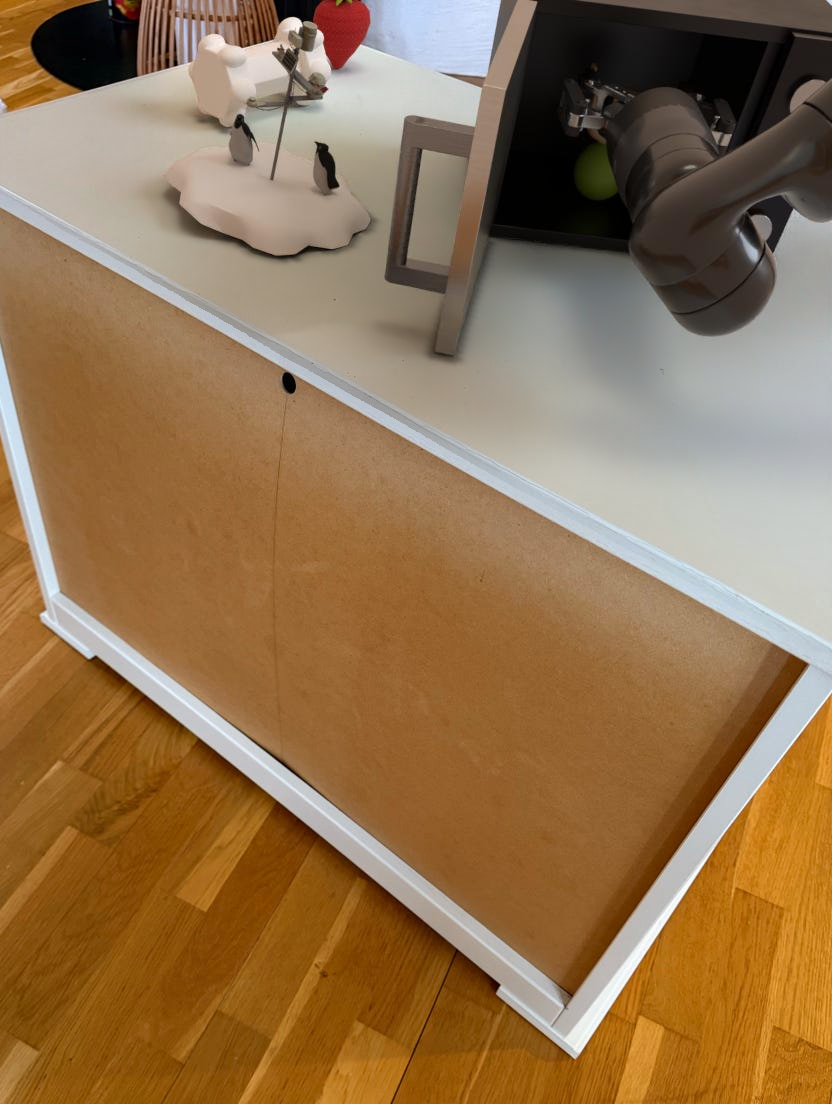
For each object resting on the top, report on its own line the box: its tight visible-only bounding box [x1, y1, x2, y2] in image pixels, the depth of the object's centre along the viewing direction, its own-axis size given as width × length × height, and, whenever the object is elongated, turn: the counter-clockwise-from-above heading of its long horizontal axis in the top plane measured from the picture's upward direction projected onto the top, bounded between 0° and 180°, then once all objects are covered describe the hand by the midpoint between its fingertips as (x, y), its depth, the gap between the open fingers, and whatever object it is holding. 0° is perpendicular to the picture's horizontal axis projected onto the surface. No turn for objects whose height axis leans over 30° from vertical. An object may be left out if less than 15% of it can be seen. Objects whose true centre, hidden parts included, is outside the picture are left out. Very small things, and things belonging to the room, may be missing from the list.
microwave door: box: [384, 0, 537, 356], centre depth 75 cm, size 7×22×20 cm, turn 167°
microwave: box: [487, 0, 832, 255], centre depth 89 cm, size 22×28×20 cm
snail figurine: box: [573, 63, 638, 200], centre depth 91 cm, size 5×6×12 cm
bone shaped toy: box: [187, 16, 332, 128], centre depth 102 cm, size 15×9×8 cm, turn 137°
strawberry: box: [312, 0, 371, 70], centre depth 113 cm, size 6×8×10 cm
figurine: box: [163, 20, 371, 256], centre depth 83 cm, size 20×18×16 cm
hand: (632, 86), depth 83 cm, fingers open, 8 cm apart
